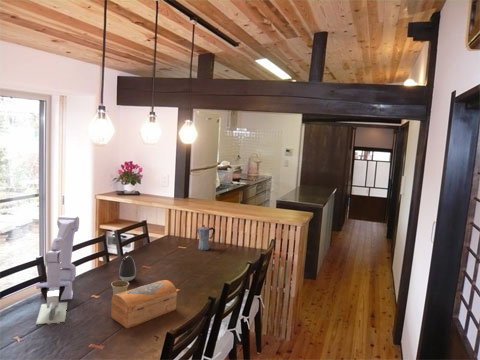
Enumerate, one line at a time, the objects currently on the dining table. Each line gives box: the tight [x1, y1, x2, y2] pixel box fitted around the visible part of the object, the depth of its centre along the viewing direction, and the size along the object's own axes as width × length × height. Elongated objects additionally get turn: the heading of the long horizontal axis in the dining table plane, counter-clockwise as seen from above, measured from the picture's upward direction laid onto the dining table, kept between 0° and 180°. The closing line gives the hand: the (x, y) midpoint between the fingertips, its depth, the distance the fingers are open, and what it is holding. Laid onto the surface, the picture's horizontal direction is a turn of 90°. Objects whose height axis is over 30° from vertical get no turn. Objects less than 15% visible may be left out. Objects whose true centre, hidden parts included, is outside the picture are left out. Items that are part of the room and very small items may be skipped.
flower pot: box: [110, 280, 130, 297], centre depth 203 cm, size 9×9×9 cm
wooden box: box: [110, 279, 178, 329], centre depth 189 cm, size 30×16×14 cm, turn 139°
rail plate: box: [35, 301, 68, 325], centre depth 182 cm, size 20×12×3 cm, turn 21°
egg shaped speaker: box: [118, 255, 137, 282], centre depth 229 cm, size 10×10×15 cm
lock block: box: [46, 290, 60, 308], centre depth 182 cm, size 6×5×6 cm
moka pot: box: [195, 224, 215, 251], centre depth 303 cm, size 10×15×20 cm, turn 107°
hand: (53, 301), depth 182 cm, fingers closed on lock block, 5 cm apart
